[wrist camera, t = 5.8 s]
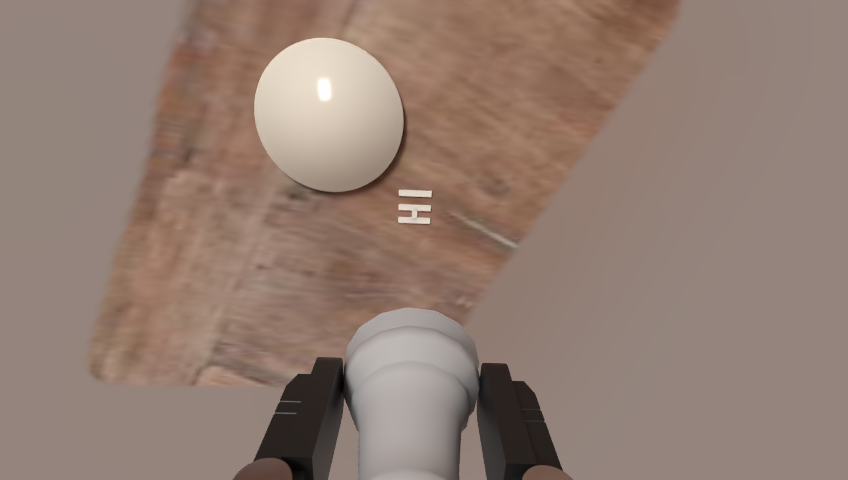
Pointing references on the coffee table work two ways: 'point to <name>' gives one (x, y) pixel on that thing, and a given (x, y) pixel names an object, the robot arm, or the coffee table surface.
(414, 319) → the rook chess piece
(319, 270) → the coffee table surface
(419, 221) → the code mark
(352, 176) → the cream round disc
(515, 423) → the robot arm
